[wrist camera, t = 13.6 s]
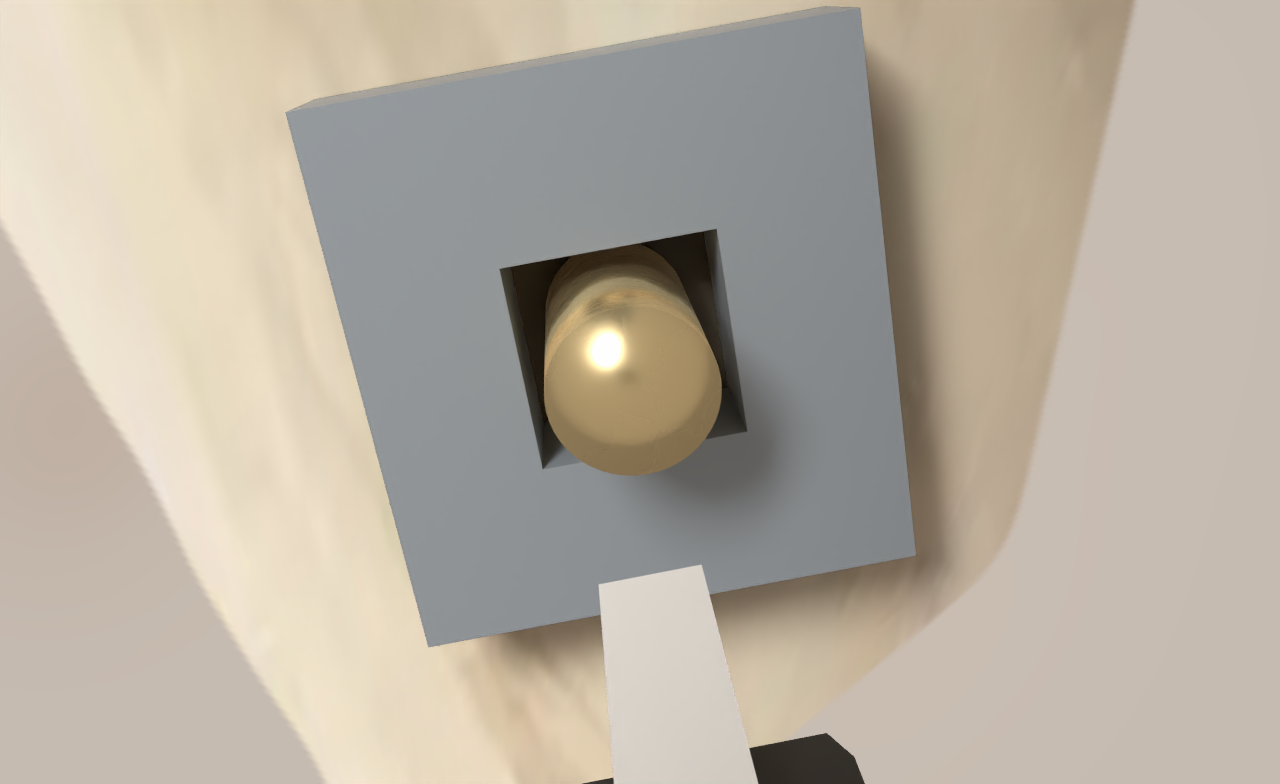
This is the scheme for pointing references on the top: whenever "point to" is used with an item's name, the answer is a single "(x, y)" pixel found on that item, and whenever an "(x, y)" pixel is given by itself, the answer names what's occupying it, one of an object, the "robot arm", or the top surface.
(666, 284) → the gold metal cylinder
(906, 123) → the top surface
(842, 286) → the jig
